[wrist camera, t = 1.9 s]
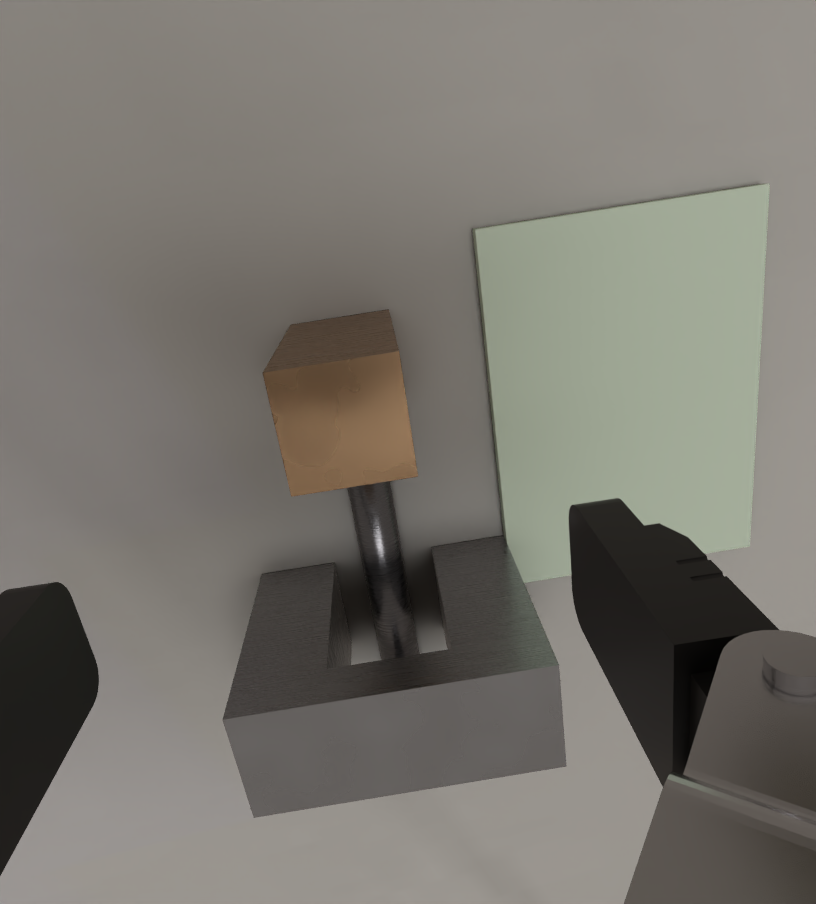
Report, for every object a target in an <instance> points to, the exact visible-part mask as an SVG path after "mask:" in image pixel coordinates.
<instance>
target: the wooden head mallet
mask: <svg viewBox="0 0 816 904" xmlns="http://www.w3.org/2000/svg"><path fill="white" fill-rule="evenodd" d="M263 376H264V381H265V385H266V389H267V394H268V398H269V402H270V407H271V411H272V415H273V420H274V424H275V428H276V432H277V437H278V441H279V445H280V450H281V454H282V458H283V463H284V467H285V471H286V476H287V480H288V484H289V488H290V493H291V497H292V496H298V495H305V494H311V493H317V492H323V491H330V490H336V489H342V488H348V491H349V496H350V501H351V507H352V512H353V517H354V522H355V527H356V532H357V537H358V542H359V547H360V552H361V558H362V563H363V568H364V573H365V578H366V583H367V588H368V593H369V598H370V603H371V609H372V614H373V619H374V624H375V629H376V634H377V639H378V644H379V649H380V654H381V660H386V659H392V658H398V657H405V656H411V655H417V654H419V650H418V644H417V639H416V633H415V627H414V621H413V615H412V609H411V603H410V597H409V591H408V585H407V579H406V574H405V568H404V562H403V556H402V550H401V544H400V538H399V532H398V526H397V520H396V515H395V509H394V503H393V497H392V491H391V485H390V481H392V480H399V479H405V478H411V477H417V476H418V473H417V467H416V460H415V453H414V447H413V440H412V434H411V427H410V420H409V414H408V407H407V401H406V394H405V387H404V381H403V374H402V368H401V361H400V354H399V349H398V345H397V341H396V337H395V333H394V329H393V325H392V321H391V317H390V313H389V309H388V310H382V311H375V312H369V313H363V314H356V315H350V316H343V317H337V318H331V319H324V320H318V321H312V322H305V323H299V324H292V325H290V327H289V329H288V331H287V332H286V334H285V336H284V337H283V339H282V341H281V342H280V344H279V346H278V348H277V349H276V351H275V353H274V354H273V356H272V358H271V360H270V361H269V363H268V365H267V366H266V368H265V370H264V371H263Z"/></svg>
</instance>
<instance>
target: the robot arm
mask: <svg viewBox="0 0 816 904" xmlns="http://www.w3.org/2000/svg"><path fill="white" fill-rule="evenodd" d="M569 538H570V556H571V575H572V592H573V599H574V605H575V610H576V614H577V617H578V620H579V623H580V626H581V629H582V631H583V633H584V635H585V637H586V639H587V641H588V642H589V644H590V646H591V648H592V650H593V652H594V654H595V656H596V658H597V660H598V662H599V664H600V666H601V668H602V670H603V672H604V674H605V675H606V677H607V679H608V681H609V683H610V685H611V687H612V689H613V691H614V693H615V695H616V697H617V699H618V701H619V703H620V705H621V707H622V708H623V710H624V712H625V714H626V716H627V718H628V720H629V722H630V724H631V726H632V728H633V730H634V732H635V734H636V736H637V738H638V740H639V741H640V743H641V745H642V747H643V749H644V751H645V753H646V755H647V757H648V759H649V761H650V763H651V765H652V767H653V769H654V771H655V773H656V774H657V776H658V778H659V780H660V782H661V784H662V786H663V789H662V792H661V795H660V798H659V801H658V804H657V807H656V810H655V813H654V816H653V819H652V822H651V825H650V828H649V830H648V833H647V836H646V839H645V842H644V845H643V848H642V851H641V854H640V857H639V860H638V863H637V866H636V869H635V872H634V875H633V878H632V881H631V884H630V887H629V890H628V893H627V896H626V899H625V902H624V904H816V637H813V636H809V635H806V634H802V633H797V632H791V631H782V630H779V629H778V628H777V627H776V626H775V625H774V624H773V623H772V622H771V621H770V620H769V619H768V618H767V617H766V616H765V615H764V614H763V613H762V612H761V611H760V610H759V609H758V608H757V607H756V606H755V605H754V604H753V603H752V602H751V601H750V600H749V599H748V598H747V597H746V596H745V595H744V594H743V593H742V592H741V591H740V590H739V589H738V587H737V586H736V585H735V584H734V583H733V582H732V581H731V580H730V579H729V578H728V577H727V576H725V577H724V576H723V573H722V571H721V570H720V569H719V568H718V567H717V566H716V565H715V564H714V563H713V562H712V561H711V560H707V556H706V555H705V554H704V553H703V552H702V551H701V550H700V549H699V548H698V547H697V546H696V545H695V544H694V543H693V542H692V541H691V540H690V539H689V538H688V537H687V536H685V535H682V534H680V533H678V532H676V531H674V530H672V529H670V528H668V527H666V526H664V525H662V524H660V523H657V524H651V525H643V524H642V523H641V521H640V520H639V519H638V518H637V517H636V516H635V515H634V513H633V512H632V511H631V510H630V509H629V508H628V507H627V505H626V504H625V503H624V502H623V501H622V500H621V499H619V498H614V499H608V500H601V501H595V502H588V503H581V504H575V505H571V507H570V509H569ZM98 684H99V675H98V667H97V663H96V660H95V657H94V655H93V652H92V649H91V647H90V644H89V641H88V639H87V636H86V634H85V631H84V628H83V626H82V623H81V620H80V618H79V615H78V612H77V610H76V607H75V604H74V602H73V599H72V597H71V594H70V592H69V591H68V589H67V588H66V587H65V586H64V585H63V584H61V583H58V582H54V583H48V584H41V585H34V586H28V587H21V588H15V589H9V590H6V591H4V592H3V593H1V594H0V875H1V874H2V872H3V870H4V868H5V866H6V864H7V862H8V861H9V859H10V857H11V855H12V853H13V851H14V850H15V848H16V846H17V844H18V842H19V840H20V839H21V837H22V835H23V833H24V831H25V829H26V828H27V826H28V824H29V822H30V820H31V818H32V817H33V815H34V813H35V811H36V809H37V807H38V806H39V804H40V802H41V800H42V798H43V796H44V795H45V793H46V791H47V789H48V787H49V785H50V784H51V782H52V780H53V778H54V776H55V774H56V773H57V771H58V769H59V767H60V765H61V763H62V762H63V760H64V758H65V756H66V754H67V752H68V751H69V749H70V747H71V745H72V743H73V741H74V740H75V738H76V736H77V734H78V732H79V730H80V729H81V727H82V725H83V723H84V721H85V719H86V718H87V716H88V714H89V712H90V710H91V708H92V707H93V705H94V702H95V700H96V697H97V692H98Z"/></svg>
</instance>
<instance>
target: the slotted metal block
mask: <svg viewBox="0 0 816 904" xmlns="http://www.w3.org/2000/svg"><path fill="white" fill-rule="evenodd" d="M431 548H432V555H433V561H434V568H435V575H436V581H437V588H438V595H439V601H440V608H441V615H442V621H443V628H444V633H445V638H446V644H447V649H448V650H442V651H435V652H429V653H423V654H417V655H411V656H405V657H398V658H392V659H386V660H380V661H374V662H368V663H361V664H355V665H351V651H352V642H351V637H350V632H349V628H348V623H347V618H346V614H345V609H344V604H343V600H342V595H341V590H340V586H339V581H338V576H337V572H336V567H335V563H330V564H324V565H318V566H311V567H305V568H299V569H293V570H286V571H280V572H274V573H268V574H262V576H261V579H260V583H259V587H258V590H257V594H256V598H255V602H254V605H253V609H252V613H251V616H250V620H249V624H248V628H247V631H246V635H245V639H244V642H243V646H242V650H241V653H240V657H239V661H238V665H237V668H236V672H235V676H234V679H233V683H232V687H231V691H230V694H229V698H228V702H227V705H226V709H225V713H224V717H223V723H224V726H225V729H226V732H227V735H228V738H229V741H230V744H231V748H232V751H233V754H234V757H235V760H236V763H237V766H238V770H239V773H240V776H241V779H242V782H243V785H244V788H245V791H246V795H247V798H248V801H249V804H250V807H251V810H252V813H253V816H254V818H255V817H261V816H267V815H273V814H279V813H285V812H291V811H298V810H304V809H310V808H316V807H322V806H328V805H334V804H340V803H346V802H352V801H358V800H365V799H371V798H377V797H383V796H389V795H395V794H401V793H407V792H413V791H419V790H425V789H432V788H438V787H444V786H450V785H456V784H462V783H468V782H474V781H480V780H486V779H492V778H499V777H505V776H511V775H517V774H523V773H529V772H535V771H541V770H547V769H553V768H559V767H566V754H565V741H564V727H563V714H562V700H561V686H560V673H559V664H558V662H557V659H556V657H555V655H554V652H553V650H552V648H551V645H550V643H549V641H548V638H547V636H546V634H545V631H544V629H543V626H542V624H541V622H540V619H539V617H538V615H537V612H536V610H535V608H534V605H533V603H532V601H531V598H530V596H529V594H528V591H527V589H526V587H525V584H524V582H523V580H522V577H521V575H520V572H519V570H518V568H517V565H516V563H515V561H514V558H513V556H512V554H511V551H510V549H509V547H508V544H507V542H506V540H505V537H504V536H498V537H492V538H486V539H479V540H473V541H467V542H461V543H454V544H448V545H442V546H436V547H431Z"/></svg>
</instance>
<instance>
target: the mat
mask: <svg viewBox="0 0 816 904" xmlns="http://www.w3.org/2000/svg"><path fill="white" fill-rule="evenodd" d="M769 187H770V184H757V185H751V186H744V187H738V188H731V189H725V190H719V191H712V192H706V193H699V194H693V195H687V196H680V197H674V198H667V199H661V200H654V201H648V202H642V203H635V204H629V205H622V206H616V207H610V208H603V209H597V210H590V211H584V212H578V213H571V214H565V215H558V216H552V217H546V218H539V219H533V220H526V221H520V222H513V223H507V224H501V225H494V226H488V227H481V228H475V229H472V231H473V240H474V250H475V260H476V270H477V279H478V289H479V299H480V309H481V318H482V328H483V338H484V348H485V357H486V367H487V377H488V387H489V396H490V406H491V416H492V426H493V435H494V445H495V455H496V465H497V474H498V484H499V494H500V504H501V513H502V523H503V533H504V537H505V540H506V542H507V544H508V547H509V549H510V551H511V554H512V556H513V558H514V561H515V563H516V565H517V568H518V570H519V572H520V575H521V577H522V580H523V582H524V583H527V582H533V581H539V580H545V579H551V578H558V577H564V576H570V575H571V556H570V538H569V509H570V507H571V505H575V504H581V503H588V502H595V501H601V500H608V499H614V498H619V499H621V500H622V501H623V502H624V503H625V504H626V505H627V507H628V508H629V509H630V510H631V511H632V512H633V513H634V515H635V516H636V517H637V518H638V519H639V520H640V521H641V523H642V524H643V525H651V524H657V523H660V524H662V525H664V526H666V527H668V528H670V529H672V530H674V531H676V532H678V533H680V534H682V535H685V536H687V537H688V538H689V539H690V540H691V541H692V542H693V543H694V544H695V545H696V546H697V547H698V548H699V549H700V550H701V551H702V552H703V553H704V554H706V553H713V552H719V551H725V550H731V549H737V548H744V547H750V534H751V516H752V498H753V479H754V461H755V443H756V425H757V406H758V388H759V370H760V352H761V333H762V315H763V297H764V278H765V260H766V242H767V224H768V205H769Z"/></svg>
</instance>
